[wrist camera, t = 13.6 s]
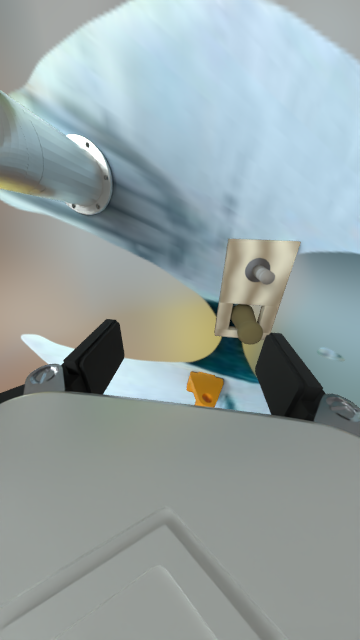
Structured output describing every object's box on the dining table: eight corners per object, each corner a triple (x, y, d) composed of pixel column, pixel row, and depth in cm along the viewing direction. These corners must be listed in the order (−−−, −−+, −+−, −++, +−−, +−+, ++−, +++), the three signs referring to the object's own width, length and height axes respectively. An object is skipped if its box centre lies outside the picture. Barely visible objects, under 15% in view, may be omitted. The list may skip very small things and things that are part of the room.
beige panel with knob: (214, 331, 48) (216, 351, 40) (228, 238, 37) (235, 240, 29) (265, 336, 47) (277, 357, 39) (295, 241, 36) (322, 244, 28)
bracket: (186, 384, 60) (183, 417, 49) (191, 369, 56) (188, 401, 46) (216, 391, 59) (219, 425, 49) (222, 376, 56) (227, 410, 45)
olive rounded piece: (247, 326, 46) (259, 351, 37) (226, 320, 46) (232, 344, 36) (257, 307, 43) (273, 329, 34) (234, 300, 43) (243, 321, 34)
